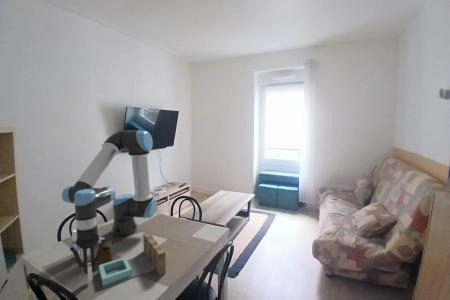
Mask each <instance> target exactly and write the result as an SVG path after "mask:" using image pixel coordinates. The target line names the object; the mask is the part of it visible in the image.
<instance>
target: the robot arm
mask: <svg viewBox="0 0 450 300" xmlns="http://www.w3.org/2000/svg"><path fill="white" fill-rule="evenodd" d="M153 141H154V140H153V137H152V134H150V132H149V131H146V130H138V129H137V130H135V129H134V130H132V129H131V130H130V129H128V130H126V129H122V130H119V131H116V132H115V133H113V134H111V135H110V136H109V137H108V138H106V140H104V142H103V143H102V145H101V149H100V150H99V152H98V153H97V154H96V155H95V157H94V159H93V160H92V161H91V162H90V164H89V165H88V166H87V167H86V169H85V171H83V173H82V174H81V175H80V176H79V178H78V180H77V181H76V182H75V183H74V185H73V186H72V185H70V186H67V187H65V188H64V189H63V191H62V192H61V198H62V201H63V202H65V203H70V204H73V205H74V211H75V228H76V229H77V230H76V232H77V240H76V243H75V244H74V245H73V244H71V245H70V246H69V251H70V252H72V253H73V257H74V256H75V258H74V259H75V260H76V263H77V265H78V267H79V268H83V272H84V274H85V275H86V274H87V281H88V282H91V281H93V272H95V270H96V269H95V268H96V267H95V266H96V263H99V260H100V255H101V250H102V247H104V246H103V245H104V244H105V242H106V239H105V237H100V235H99V234H98V231H99V230H98V219H97V218H98V217H97V215H98V214H97V212H98V211H97V209H100V208H101V207H103V206H105V205H107V204H109V203H111V202H112V201H113V202H112V206H113V207H112V208H113V210H112V211H113V212H112V213H113V223H112V226H111V229H110V233H111V235H112V236H113V237H117V238H119V237H120V238H121V237H128V236H131V235H132V234H135V233H136V232H137V231H138V225H137V223H136V220H135V218H139V219H140V218H142V219H150V218H152V217H153V216H154V215H155V214H156V211H157V208H158V200H157V199H156V198H154V195H153V193H151V190H150V188H151V187H150V176H149V175H150V174H149V165H148V155H149V154H150V151H152V149H153V145H154V144H153V143H154V142H153ZM121 151H127V153H128V156H129V157H131V165H132V167H131V168H132V174H133V175H132V176H133V185H134V187H133V188H134V194H132V193H126V194H121V195H118V196H116V195H117V194H116V193H117V192H116V190H115V189H114V187H111V186H109V185H108V186H103V187H102V188H101V187H95V185H96V184H97V182H98V181H99V180H100V178H101V177H102V175H103V173H105V170H107V168H108V167H109V165H110V163H111V162H112V161H113V159H114V158H115V156H117V155H119V153H120V152H121ZM98 240H99V241H98ZM98 242H99V244H98ZM96 244H98V245H97V250H96V255H95V246H96ZM77 246H79V247H80V248H81V249H83V260H81V259H80V256H79V254H78V251H77ZM88 248H90V255H89V257H90V262H88V257H87V249H88Z"/></svg>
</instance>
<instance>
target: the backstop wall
mask: <svg viewBox="0 0 450 300" xmlns="http://www.w3.org/2000/svg"><path fill="white" fill-rule="evenodd" d="M142 236H143V237H142V239H143V240H142V241H143V244H142V245H143V253H144V254H145V255H147V256H148V258H149V259H150V261H151V262H152V264H153V266H154V267H155V269H156V270H155V271H156V273H157V274H158V276H161V275H163V274H166V273H167V271H166V269H167V268H166V266H167V265H166V264H167V263H166V251H165V250H164V249H163V248H162V246H161V245H160V244H159V243H158V242H157V240H156V239H155V238H154V237H153V235H152V234H151V233H150V232H149V231H147V232H145V233H144V232H143V234H142Z"/></svg>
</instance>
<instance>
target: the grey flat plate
mask: <svg viewBox="0 0 450 300" xmlns="http://www.w3.org/2000/svg"><path fill="white" fill-rule="evenodd" d="M127 261H128V263H129V265H130V267H131V269H132V276H129V277H126V278H124V279H121V280H118V281H115V282H113V283H110V284H107V285H104V286H103V284H102V283H101V284H102V288H103V289H107V288H109V287H111V286H114V285H115V286H116V285H118V284H120V283H123V282H125V281H128V280H131V279H133V278H137V277H139V276H142V275H144V274H147V273H150V272H153V271H156V269H155V267H154V266H153V264H152V262H151V261H150V259H149V258H148V256H147V255H146V254H145V255H142V256H137V257H136V258H132V259H130V260H127ZM122 270H125V269H124V266H120V267H117V268H114V269H111V270H108V271H105V273H106V276H107V275H110V274H113V273H116V272H119V271H122ZM99 276H100V275H99ZM100 278H101V276H100ZM100 281H101V282H102V280H101V279H100Z"/></svg>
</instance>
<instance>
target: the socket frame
mask: <svg viewBox="0 0 450 300" xmlns="http://www.w3.org/2000/svg"><path fill="white" fill-rule="evenodd" d="M128 261H129V260H128V259H127V257H126V256H125V257H121V258H118V259H115V260H114V259H113V260H112V261H111V262H108V263H104V264H99V265H98V273H99V276H101V277H100V281H101V280H102V281H101V284H103V285H102V287H103V286H104V285H107V284H110V283H113V282H115V281H118V280H121V279H124V278H126V277H129V276H132V269H131V267H130V265H129V263H128ZM120 266H124V269H125V270H122V271H119V272H116V273H113V274H110V275H107V276H106V273H105V271H108V270H111V269H114V268H117V267H120Z"/></svg>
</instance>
